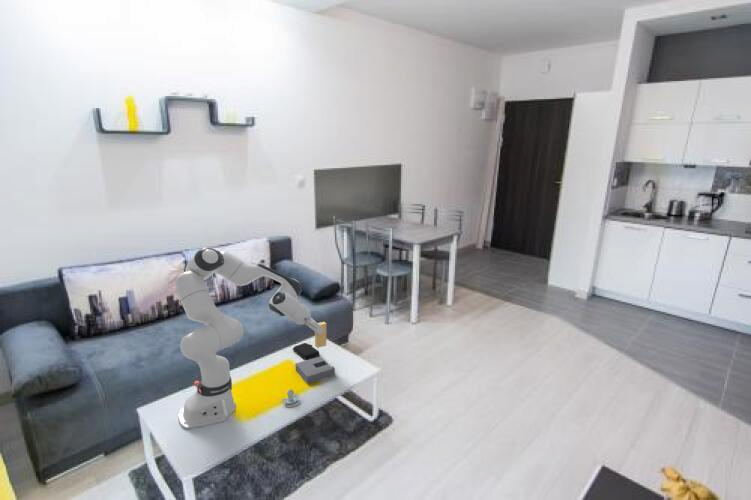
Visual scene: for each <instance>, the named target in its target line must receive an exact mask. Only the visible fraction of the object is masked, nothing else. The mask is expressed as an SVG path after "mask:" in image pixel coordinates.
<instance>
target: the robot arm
mask: <svg viewBox="0 0 751 500" xmlns="http://www.w3.org/2000/svg"><path fill="white" fill-rule="evenodd" d="M214 274H216V275H220V276H222V277H223V278H224V279H226V280H227V281H228V282H230V283H232V284H234V285H235V286H239V287H243V286H246V285H249V284H251V283H252V282H254V281H255V280H258V279H259V278H261V277H268V278H270V279H272V280H273V281H276V282H278V283H280V286H279V287H278V289H277V291H276V292H275V293H274V294H273V296H272V297H271V298H270V300H269V302H268V307H269V310H270V311H272V312H274V313H275V314H276V315H277V316H278V317H285V316H288V317H289V319H290V320H291V321H293V322H294V323H295V324H297V325H298V326H301V325H307V326H308V328H310V330H312V331H314V333H315V332H316V333H317V334H319V335H321V333H322V332H323V331H324V328H323V327H322V326H320V325H319V324H318V323H319V322H316V320H314V319H313V318H312V313H311V309H309V308H308V307H307V306H306V305H305V304H303V303H301V302H299V300H298V299H297V298H298V297H299V296H300V294H301V293H302V292H303V285H302V283H301V282H300V281H298V280H297V279H295V278H292V277H289V276H287V275H285V274H283V273H282V272H279V271H277V270H275V269H272V268H270V267H269V266H266V265H264V264H262V263H258V262H255V263H253V264H252V263H248V262H245V261H244V260H242V259H241V258H239V257H238V256H236V255H234V254H233V253H230V252H229V251H225V250H221V251H219V250H217V249H215V248H213V247H202V248H201V249H199V250H197V252H195V254H194V255H193V256H192V257H191V258H190V259H189V261H188V262H187V263H186V265H185V267H184V270H183V272H182V273H180V274H178V276H177V277H176V279H175V289H176V291H177V295H178V298H179V300H180V303H181V305H182V307H183V310H184V312H185V315H186V316H187V318H188V319H189V320H191V321H194V322H199V323H202V325H205V327H201V328H198V329H195V330H193V331H191V332H189V333H187V334H186V335H185V336H183V337H182V339H181V341H180V345H179V348H180V351H181V353H182V355H183V356H184V357H185V358H186V359H189V360H191V361H194V362H195V363H197V365H198V367H199V370H200V375H201V376H200V377H201V381H199V380H196V381H194V383H193V385H194V386H195V388H196V391H195V392H193V394H191V395H190V396H189V397H187V399H185V402H184V405H183V407H182V408H180V410H179V411H178V416H177V417H178V423H179V425H180V426H181V427H183V429H185V430H190V429H194V428H199V427H204V426H209V425H213V424H218V423H224V422H225V421H227V419H228V417H229V416H230V415H231V414H233V413H234V412H235V410H236V407H237V405H236V402H235V400H234V397H233V391H232V389H233V388H232V387H233V383H232V382H233V380H232V377H231V373H230V370H231V369H230V362H229V360H228V359H227V358H226V357H224V356H221V355H218V354H217V353H218V351H220V350H223V349H227V348H228V347H230V346H233V345H234V344H236V343H237V342H239V341H241V340H242V339H243V336H244V328H243V325H242V323H241V322H240V321H238V320H237V319H236V318H232V317H229V316H227V315H225V314H224V313H223V312H221V311H220V310H219V309H218V307H217V306H216V304H215V303H214V300H213V299H212V297H211V295H210V293H209V291H208V288H207V287H206V284H205V282H206V281H207V280H208V279H209V278H210V277H211V276H212V275H214Z"/></svg>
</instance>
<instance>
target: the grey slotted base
mask: <svg viewBox="0 0 751 500" xmlns="http://www.w3.org/2000/svg"><path fill="white" fill-rule="evenodd" d="M335 370H336V369H335V366H334V365H333V363H331V361H329V360H328V359H327V358H326V357H325V356H324V355H319V356H316V357H313V358H311V359H308V360H306V359H305V360H303V361H299V362H296V363H295V372H296V373H297V374H298V376H300V378H301V379H302V380H303V381H304V382H305V384H306V385H309V384H312V383H314V382H317V381H322V380H324V379H327V378H331V377H334V376H335V375H336V373H335V372H336V371H335Z"/></svg>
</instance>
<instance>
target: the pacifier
mask: <svg viewBox="0 0 751 500" xmlns="http://www.w3.org/2000/svg"><path fill="white" fill-rule="evenodd" d="M294 393H295V391H294V390H293V389H291V388H290V389H288V390H287V393H286V395H287V396H288V398H287V397H286V398H282V402H284V403H285V405H284V406H286V407H287V408H292V407H295V406H297V405H299V404H300V400H299V397H300V395H299V394H296V393H295V394H294Z"/></svg>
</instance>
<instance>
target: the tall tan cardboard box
mask: <svg viewBox="0 0 751 500" xmlns="http://www.w3.org/2000/svg"><path fill="white" fill-rule="evenodd" d="M317 323H318V324H319V325H320V326H322V327H323V328H324V331H323V332H322V333H321V335H319V334H317V333H316V332H315V331H314V347H316V348H322V347H325V346H327V323H326V322H325V321H321V322H317Z"/></svg>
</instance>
